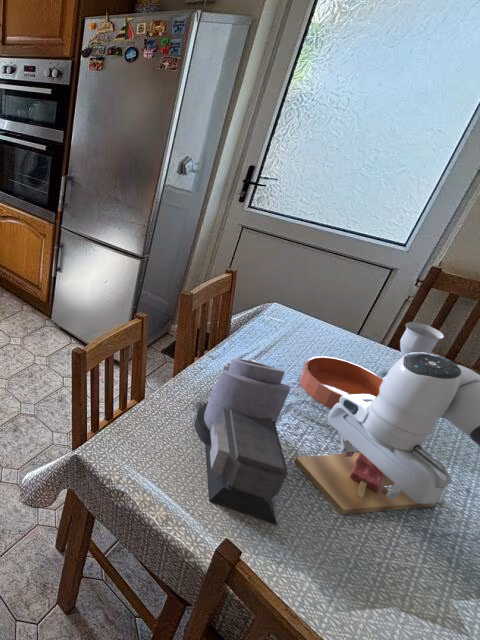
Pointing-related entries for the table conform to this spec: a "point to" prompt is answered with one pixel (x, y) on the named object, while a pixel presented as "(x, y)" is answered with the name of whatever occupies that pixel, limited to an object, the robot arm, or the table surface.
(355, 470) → the popsicle
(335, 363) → the terracotta plant saucer
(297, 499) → the table surface
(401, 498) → the board
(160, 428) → the table surface
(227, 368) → the lighter
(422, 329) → the chalice
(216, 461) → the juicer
